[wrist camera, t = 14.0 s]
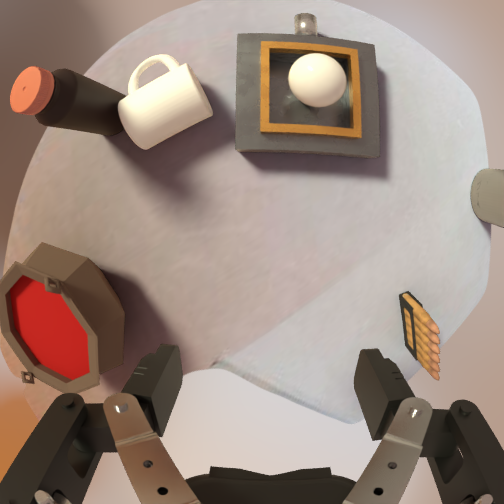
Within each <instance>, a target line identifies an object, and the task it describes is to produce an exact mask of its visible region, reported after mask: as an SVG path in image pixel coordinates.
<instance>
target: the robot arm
mask: <svg viewBox="0 0 504 504" xmlns="http://www.w3.org/2000/svg"><path fill="white" fill-rule="evenodd" d="M471 202H472V207H473V210H474V212H475V214H476V215H477V217H478V218H479V219H480V220H482V221H484V222H487V223H490V224H494V225H497V226H500V227H503V228H504V170H500V169H483V170H481V171H480V172H479V173H478V174H477V175H476V176H475V178H474V181H473V184H472V188H471ZM182 378H183V374H182V366H181V359H180V351H179V347H178V346H177V345H167V344H161V345H160V346H159V348H158V350H157V352H156V353H155V354H151V353H150V354H148V355H147V356H145V357H144V358H142V359H141V361H140V362H139V364H138V366H137V368H136V369H135V370H134V373H133V374H132V375H131V377H130V379H129V380H128V382H127V384H126V385H125V387H124V388H123V390H122V392H121V393H116V394H113V395H111V396H109V397H108V398H106V400H105V401H104V403H99V404H86V403H85V402H84V400H83V398H82V397H81V396H80V395H78V394H76V393H65V394H62V395H60V396H58V397H57V398H56V399H55V400H54V402H53V403H52V404H51V406H50V407H49V409H48V410H47V411H46V413H45V414H44V416H43V417H42V419H41V420H40V422H39V423H38V425H37V426H36V427H35V429H34V431H33V432H32V433H31V435H30V436H29V438H28V439H27V441H26V443H25V444H24V446H23V447H22V449H21V450H20V452H19V453H18V455H17V457H16V458H15V460H14V461H13V463H12V465H11V466H10V468H9V470H8V471H7V473H6V475H5V476H4V478H3V480H2V481H1V483H0V504H82V502H83V500H84V497H85V494H86V492H87V489H88V487H89V485H90V482H91V480H92V477H93V475H94V473H95V470H96V468H97V465H98V463H99V461H100V458H101V456H102V454H103V452H118V454H119V456H120V458H121V461H122V463H123V466H124V468H125V470H126V473H127V475H128V477H129V479H130V482H131V484H132V486H133V488H134V490H135V492H136V494H137V496H138V498H139V500H140V502H141V504H398V503H399V501H400V499H401V497H402V495H403V493H404V491H405V489H406V487H407V484H408V482H409V480H410V478H411V476H412V473H413V471H414V469H415V466H416V464H417V461H418V459H419V457H427V460H428V463H429V465H430V468H431V471H432V474H433V477H434V479H435V482H436V485H437V488H438V491H439V494H440V497H441V500H442V503H443V504H504V450H503V449H502V447H501V445H500V443H499V442H498V440H497V438H496V437H495V435H494V433H493V432H492V430H491V428H490V427H489V425H488V423H487V422H486V420H485V419H484V417H483V415H482V414H481V412H480V411H479V409H478V407H477V406H476V405H475V404H474V403H472V402H470V401H467V400H457V401H455V402H453V404H452V405H451V407H450V409H449V410H444V409H432V407H431V405H430V404H429V403H428V402H427V401H425V400H424V399H421V398H416V397H415V395H414V394H413V392H412V390H411V388H410V387H409V385H408V383H407V382H406V380H405V379H404V376H403V375H402V373H400V370H399V368H398V366H397V365H396V364H395V363H394V362H393V361H391V360H390V359H389V358H386V359H384V358H383V356H382V354H381V352H380V351H379V349H362V350H361V351H360V354H359V359H358V363H357V367H356V372H355V376H354V389H355V392H356V395H357V397H358V400H359V403H360V406H361V409H362V412H363V414H364V417H365V420H366V423H367V426H368V429H369V432H370V435H371V438H372V440H373V441H375V440H381V439H382V441H381V443H380V445H379V446H378V448H377V450H376V452H375V453H374V455H373V457H372V458H371V460H370V462H369V464H368V465H367V467H366V468H365V470H364V472H363V473H362V475H361V477H360V478H359V480H358V481H357V482H355V481H353V480H351V479H348V478H345V477H342V476H337V475H331V469H330V467H326V468H313V469H301V470H296V471H292V472H287V473H282V474H278V475H270V476H269V475H265V474H260V473H255V472H251V471H247V470H243V469H236V468H223V467H212V466H211V467H210V472H209V474H203V475H198V476H194V477H191V478H189V479H186V480H184V478H183V477H182V475H181V474H180V472H179V470H178V469H177V467H176V466H175V464H174V462H173V461H172V459H171V457H170V456H169V454H168V452H167V451H166V449H165V447H164V446H163V444H162V442H161V440H160V438H159V437H162V436H163V433H164V431H165V428H166V426H167V423H168V420H169V417H170V415H171V412H172V409H173V407H174V404H175V401H176V399H177V396H178V393H179V391H180V388H181V385H182ZM458 448H459V449H460V451H461V453H462V455H463V457H462V455H461V453H460V451H459V449H458Z"/></svg>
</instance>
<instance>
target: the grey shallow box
mask: <svg viewBox="0 0 504 504" xmlns="http://www.w3.org/2000/svg"><path fill="white" fill-rule="evenodd" d="M294 19H295V35H294V34H268V33H248V34H238V36H237V74H236V129H235V149H236V150H237V151H238V152H280V153H305V154H323V155H337V156H349V157H360V158H375V157H380V120H379V95H378V79H377V66H376V56H375V46H374V45H373V44H368V43H362V42H356V41H350V40H343V39H336V38H328V37H319V36H317V21H316V17H315V16H314V15H312V14H308V13H301V14H298V15H296V16H295V17H294ZM311 53H320V54H324V55H327V56H330V57H332V58H333V59H335V60H336V61H337V62H338V63H339V64H340V65H341V67H342V68H343V70H344V72H345V75H346V89H345V92H344V94H343V95H342V97H341V98H340V99H339V100H338V101H337V102H336V103H334V104H332V105H330V106H326V107H312V106H309V105H306V104H304V103H302V102H301V101H300V100H298V99H297V98H296V97H295V96H294V94H293V93H292V91H291V89H290V86H289V82H288V75H289V71H290V68H291V66H292V65H293V63H294V62H295V61H296V60H297V59H299V58H300V57H302V56H304V55H307V54H311Z"/></svg>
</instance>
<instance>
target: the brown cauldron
mask: <svg viewBox="0 0 504 504" xmlns="http://www.w3.org/2000/svg"><path fill="white" fill-rule="evenodd" d="M124 323H125V313H124V310H123V308H122V305H121V303H120V300H119V298H118V296H117V294H116V293H115V291H114V290H113V288H112V287H111V285H110V284H109V282H108V281H107V279H106V278H105V276H104V274H103V273H102V271H101V270H100V268H98V267H97V266H96V265H95V264H94V263H93V262H92V261H91V260H90V259H89V258H86V257H83V256H80V255H77V254H74V253H72V252H69V251H66V250H63V249H60V248H57V247H54V246H51V245H48V244H46V243H43V242H42V243H41V244H40V245H39V246H38V247H37V248H36V249H35V250H34V251H33V252H32V253H31V254H30V255H29V257H28V258H27V259H26V260H25V261H24V262H23V263H22V264H21V263H18V262H16V261H15V262H14V264H13V265H12V266H11V267H10V269H9V270H8V271H7V272H6V274H5V275H4V276H3V277H2V279H1V280H0V326H1V332H2V334H3V336H4V337H5V339H6V340H7V342H8V344H9V345H10V347H11V348H12V349H13V351H14V352H15V354H16V355H17V357H18V358H19V360H20V361H21V362H22V364H23V365H24V366H25V368H26V369H27V370H28V372H23V371H21V374H22V381H23V383H32V384H34V378H33V376H34V377H35V378H37V379H39V380H40V381H42V382H44V383H46V384H48V385H49V386H51V387H53V388H55V389H57V390H59V391H61V392H63V393H76V394H77V393H80V392H82V391H85V390H88V389H90V388H93V387H95V386H98V385H100V382H99V374H101V373H103V372H106V371H108V370H110V369H112V368H115V367H117V366H119V365H121V364H123V346H124ZM25 375H29V376H30V380H26V378H25Z"/></svg>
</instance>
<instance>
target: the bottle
mask: <svg viewBox="0 0 504 504" xmlns="http://www.w3.org/2000/svg"><path fill="white" fill-rule="evenodd" d="M125 97H126V96H125V95H123V94H121V93H119V92H117V91H115V90H113V89H111V88H109V87H107V86H105V85H103V84H100V83H98V82H96V81H94V80H92V79H89V78H87V77H85V76H83V75H80V74H78V73H76V72H74V71H71V70H68V69H58V70H56V71H54V72H52V73H51V72H50V71H47V70H44V69H42V68H39V67H36V66H32V67H29V68H27V69H25V70H24V71H23V72H22V73H21V74H20V75H19V76H18V78H17V79H16V81H15V83H14V85H13V88H12V91H11V96H10V103H11V107H12V110H13V111H15V112H16V113H20V114H27V115H35V117H36V119H37V120H38V122H39V123H41V124H43V125H45V126H50V127H57V128H64V129H71V130H77V131H84V132H90V133H95V134H101V135H109V136H111V135H115V134H118V133H119V132H121V131H122V130H123V129H124V127H123V125H122V122H121V120H120V117H119V113H118V103H119V101H120V100H122V99H123V98H125Z"/></svg>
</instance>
